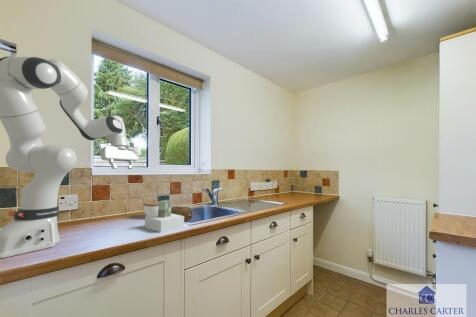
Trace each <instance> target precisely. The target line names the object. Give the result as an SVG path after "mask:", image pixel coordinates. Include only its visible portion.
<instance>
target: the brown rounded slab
mask: <svg viewBox="0 0 476 317" xmlns="http://www.w3.org/2000/svg"><path fill="white" fill-rule="evenodd" d="M171 213H172V214H176V215H181V216H184V223H186V222H189V221H191V220H192V219H193V217H194V210H193V209H192V208H191V207H189V206H179V205H177V206H171Z"/></svg>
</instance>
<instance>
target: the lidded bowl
mask: <svg viewBox="0 0 476 317" xmlns="http://www.w3.org/2000/svg"><path fill="white" fill-rule="evenodd" d="M158 201H159V200H157V199H156V198H155V199H154V198H153V200H151V201H144V202H143V212H144V215H145V216H151V215H157V214H158Z"/></svg>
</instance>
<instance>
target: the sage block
mask: <svg viewBox="0 0 476 317" xmlns="http://www.w3.org/2000/svg"><path fill="white" fill-rule="evenodd" d="M157 201H158V217H164V218H165V217H169V216H171V208H172V200H167V199H163V200H157Z"/></svg>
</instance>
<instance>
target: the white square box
mask: <svg viewBox="0 0 476 317" xmlns="http://www.w3.org/2000/svg"><path fill="white" fill-rule="evenodd" d="M181 227H182V228H184V227H185V222H184V216H181V215H176V214H172V213H171V216H169V217H165V218H164V217H158V214H157V215H151V216H146V215H145V216H144V228H145V229H148V230H151V231H154V232H157V231H158V233H164V232H163V231H165V232H168V231H167V230H169V231H172V230H171V229H173V230H176V228H177V229H182V228H181Z"/></svg>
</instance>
